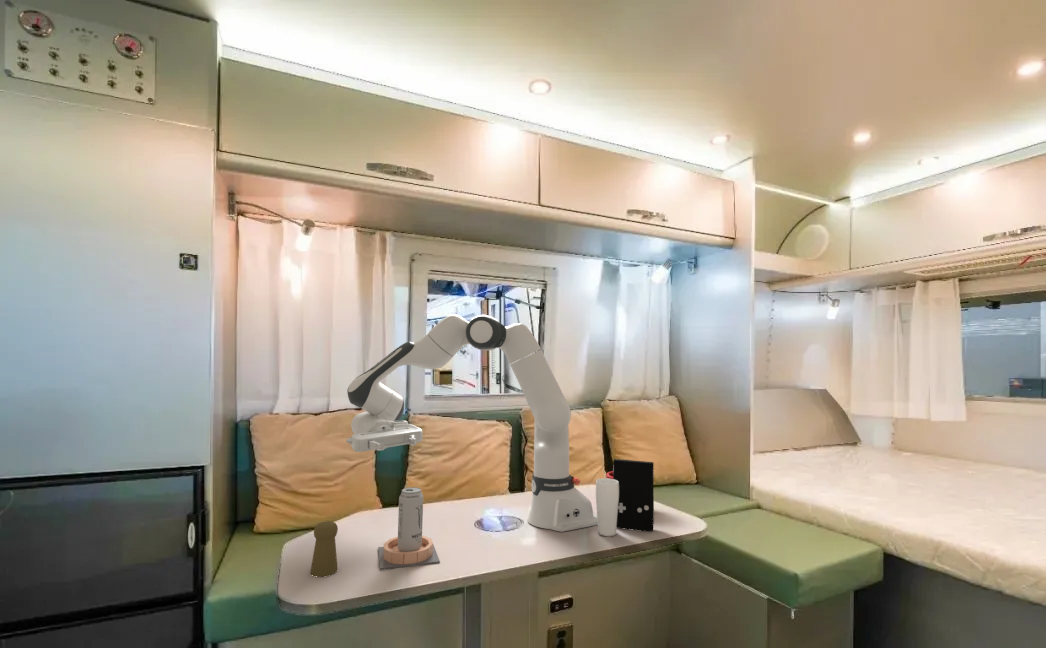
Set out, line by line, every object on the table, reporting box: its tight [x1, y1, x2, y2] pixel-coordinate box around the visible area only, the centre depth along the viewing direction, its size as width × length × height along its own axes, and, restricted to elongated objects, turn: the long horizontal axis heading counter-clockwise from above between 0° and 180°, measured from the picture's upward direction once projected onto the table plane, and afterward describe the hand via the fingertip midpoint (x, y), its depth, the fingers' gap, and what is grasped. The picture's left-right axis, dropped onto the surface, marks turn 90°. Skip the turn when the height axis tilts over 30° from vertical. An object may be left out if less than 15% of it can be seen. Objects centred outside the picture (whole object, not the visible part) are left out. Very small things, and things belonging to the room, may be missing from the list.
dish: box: [377, 535, 441, 571], centre depth 121 cm, size 14×13×3 cm
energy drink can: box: [397, 486, 424, 552], centre depth 122 cm, size 6×6×15 cm
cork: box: [309, 521, 339, 578], centre depth 112 cm, size 6×6×11 cm
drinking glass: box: [595, 477, 619, 537], centre depth 139 cm, size 7×7×15 cm
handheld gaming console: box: [612, 458, 655, 532], centre depth 145 cm, size 12×5×20 cm, turn 72°
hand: (398, 444), depth 133 cm, fingers open, 8 cm apart
